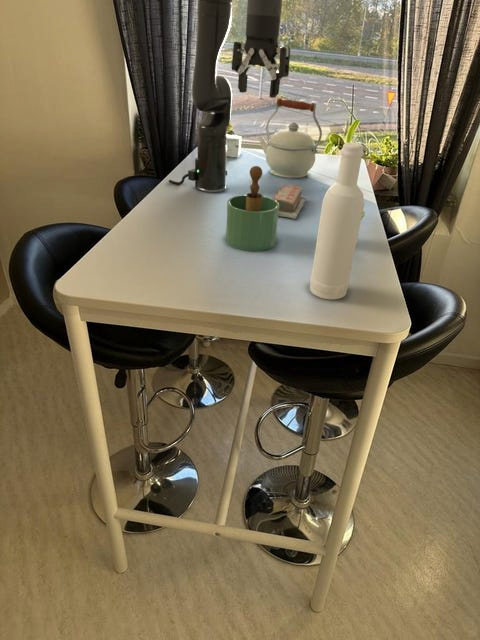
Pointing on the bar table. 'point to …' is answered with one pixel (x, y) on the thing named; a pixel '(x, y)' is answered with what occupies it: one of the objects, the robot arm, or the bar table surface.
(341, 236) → the bottle
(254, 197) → the brown knobbed turned figurine
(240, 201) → the cup
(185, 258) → the bar table surface
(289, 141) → the kettle
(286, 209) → the packaged product
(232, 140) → the white small box
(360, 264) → the bar table surface
